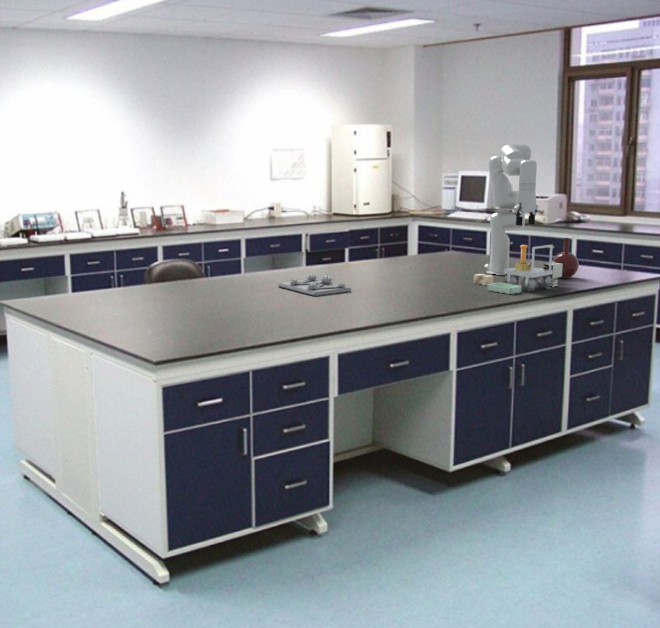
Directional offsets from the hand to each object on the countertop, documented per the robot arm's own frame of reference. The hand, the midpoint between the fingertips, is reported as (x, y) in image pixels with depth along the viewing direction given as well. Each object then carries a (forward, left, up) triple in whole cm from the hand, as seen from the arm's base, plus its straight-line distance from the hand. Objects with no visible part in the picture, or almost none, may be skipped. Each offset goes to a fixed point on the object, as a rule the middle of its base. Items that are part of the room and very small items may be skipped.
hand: (525, 224), depth 409 cm
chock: (-18, -6, -30) cm, 35 cm away
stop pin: (0, 0, -21) cm, 21 cm away
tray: (+1, -15, -30) cm, 33 cm away
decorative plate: (-59, -78, -30) cm, 102 cm away
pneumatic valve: (+7, +14, -30) cm, 34 cm away
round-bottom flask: (-3, +40, -30) cm, 50 cm away
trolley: (+3, 0, -30) cm, 30 cm away
